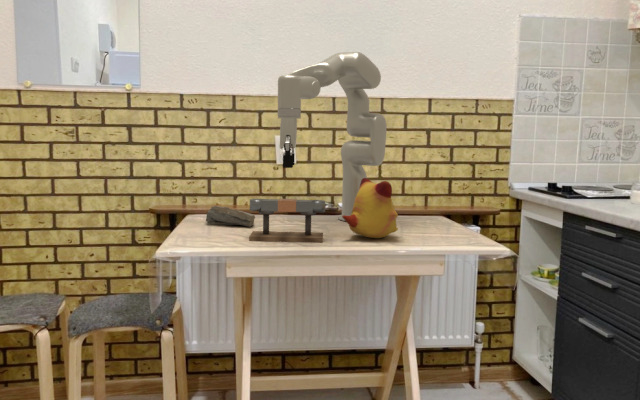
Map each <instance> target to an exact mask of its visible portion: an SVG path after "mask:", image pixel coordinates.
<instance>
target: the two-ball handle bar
mask: <svg viewBox="0 0 640 400" xmlns="http://www.w3.org/2000/svg"><path fill="white" fill-rule="evenodd" d="M249 211H251V212H259V211H274V212H278V213H281V212H282V213H284V212H285V213H288V212H289V213H301V212H315V213H316V214H317V213H318V214H319V213H325V212H326V200H324V199H323V200H322V199H297V198H250V199H249Z"/></svg>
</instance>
